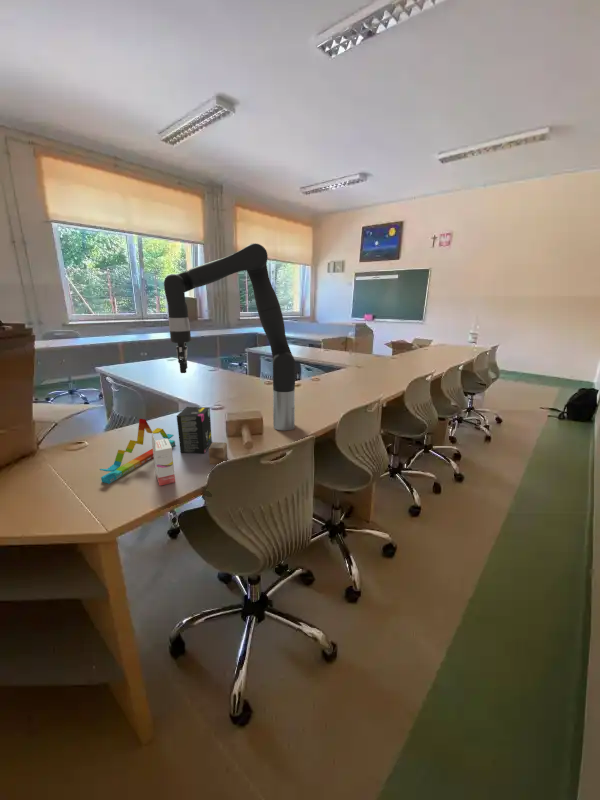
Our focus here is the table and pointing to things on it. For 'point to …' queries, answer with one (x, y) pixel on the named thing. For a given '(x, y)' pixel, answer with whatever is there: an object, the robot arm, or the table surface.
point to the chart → (129, 466)
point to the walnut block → (217, 452)
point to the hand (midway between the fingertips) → (184, 370)
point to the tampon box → (194, 429)
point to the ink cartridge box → (163, 461)
